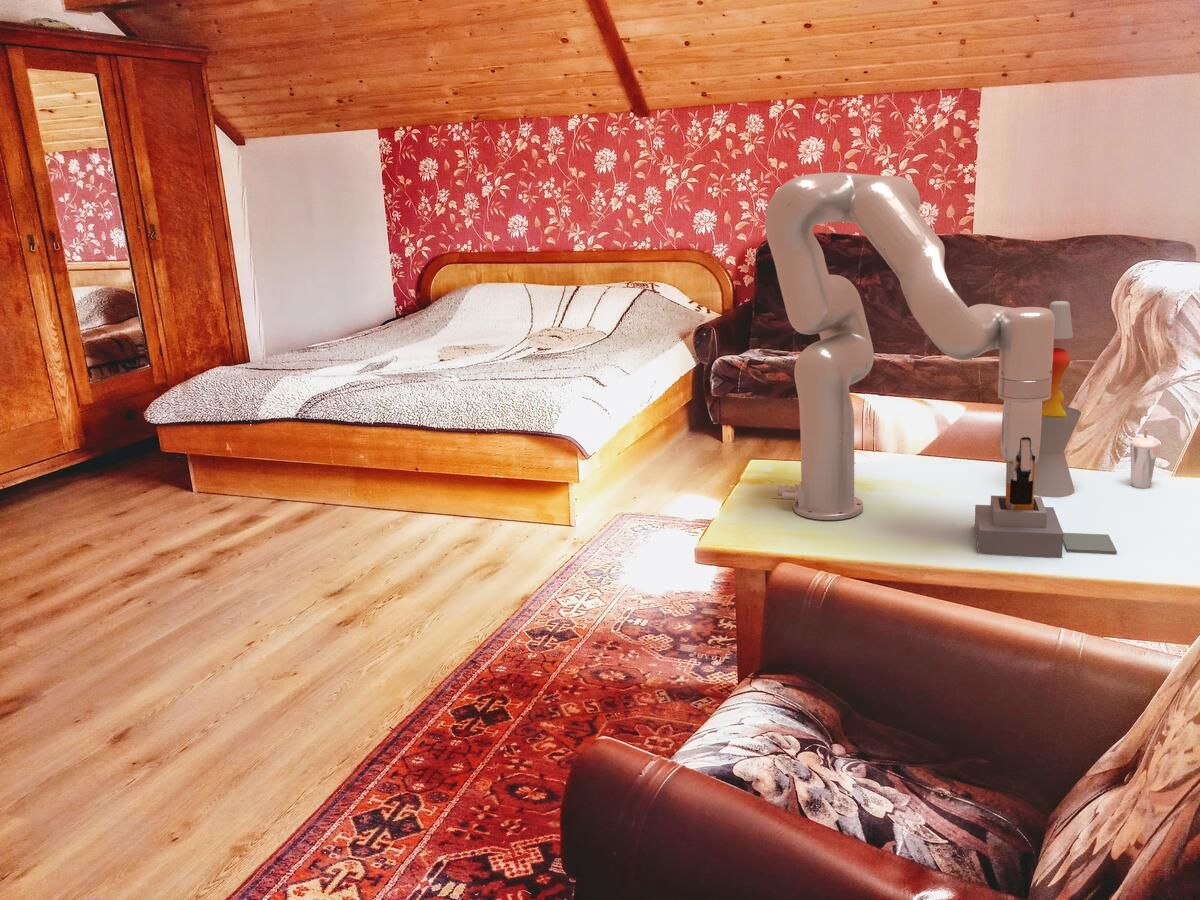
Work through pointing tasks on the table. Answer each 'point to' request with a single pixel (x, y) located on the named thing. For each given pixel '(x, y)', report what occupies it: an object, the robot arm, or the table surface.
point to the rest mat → (1088, 543)
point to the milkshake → (1143, 460)
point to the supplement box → (1008, 477)
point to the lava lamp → (1056, 418)
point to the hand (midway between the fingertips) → (1019, 497)
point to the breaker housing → (1018, 530)
